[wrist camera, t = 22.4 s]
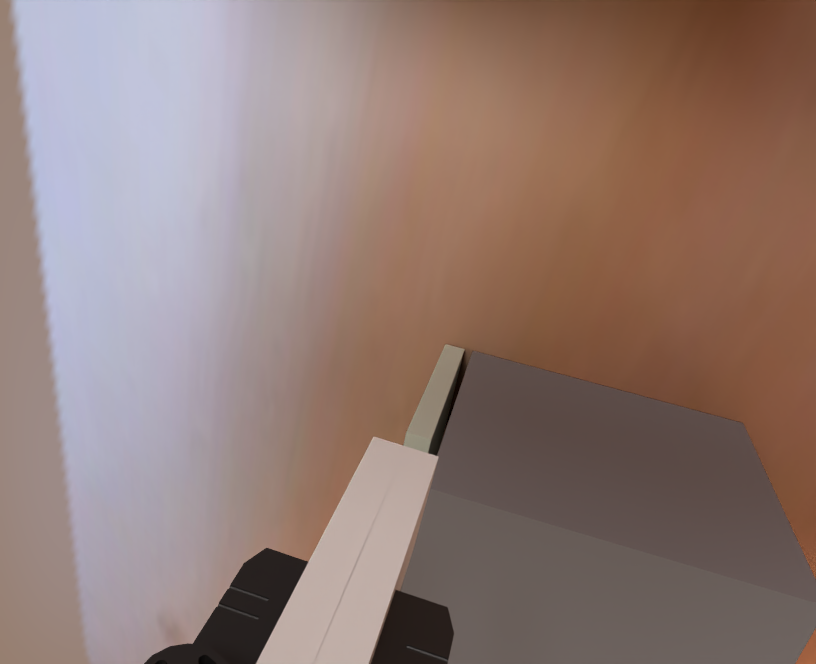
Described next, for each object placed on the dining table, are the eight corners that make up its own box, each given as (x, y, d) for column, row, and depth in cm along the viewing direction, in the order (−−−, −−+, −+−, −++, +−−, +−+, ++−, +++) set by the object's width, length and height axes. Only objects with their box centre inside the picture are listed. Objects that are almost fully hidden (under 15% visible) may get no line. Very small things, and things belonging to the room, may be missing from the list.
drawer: (713, 415, 40) (759, 533, 30) (608, 661, 48) (617, 818, 38) (445, 343, 42) (406, 432, 32) (387, 591, 50) (341, 722, 40)
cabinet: (742, 423, 40) (828, 606, 27) (632, 668, 48) (655, 904, 35) (472, 350, 42) (426, 487, 29) (409, 597, 50) (350, 794, 37)
